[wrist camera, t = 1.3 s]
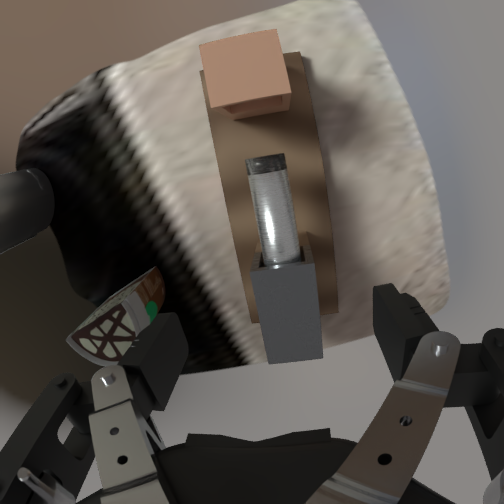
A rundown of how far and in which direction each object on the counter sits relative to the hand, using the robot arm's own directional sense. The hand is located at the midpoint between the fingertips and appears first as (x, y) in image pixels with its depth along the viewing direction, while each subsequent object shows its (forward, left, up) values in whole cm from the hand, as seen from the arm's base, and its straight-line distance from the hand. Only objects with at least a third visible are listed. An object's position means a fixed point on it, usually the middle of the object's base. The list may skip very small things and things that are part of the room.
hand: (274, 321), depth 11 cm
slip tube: (-1, -2, -14) cm, 14 cm away
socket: (+7, +10, -19) cm, 23 cm away
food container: (-20, +4, -20) cm, 29 cm away
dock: (+1, +2, -20) cm, 20 cm away
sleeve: (-4, -5, -14) cm, 16 cm away
